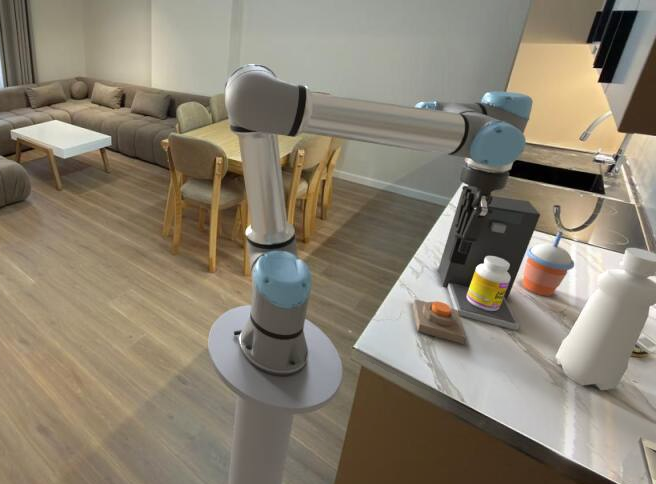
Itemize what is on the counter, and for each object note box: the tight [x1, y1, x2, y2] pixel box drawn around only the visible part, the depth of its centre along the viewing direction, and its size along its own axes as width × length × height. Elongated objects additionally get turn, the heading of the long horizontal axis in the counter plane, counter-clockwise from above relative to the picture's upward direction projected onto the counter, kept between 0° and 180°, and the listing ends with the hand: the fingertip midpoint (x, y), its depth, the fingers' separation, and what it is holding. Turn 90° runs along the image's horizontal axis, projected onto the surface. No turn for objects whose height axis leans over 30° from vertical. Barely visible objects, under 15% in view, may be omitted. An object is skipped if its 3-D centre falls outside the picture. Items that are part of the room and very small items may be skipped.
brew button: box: [431, 301, 452, 317], centre depth 95 cm, size 4×4×2 cm
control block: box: [412, 298, 467, 345], centre depth 96 cm, size 9×10×4 cm
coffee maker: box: [437, 191, 541, 331], centre depth 101 cm, size 14×20×26 cm
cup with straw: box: [521, 230, 575, 297], centre depth 105 cm, size 9×9×18 cm
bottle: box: [555, 247, 656, 391], centre depth 77 cm, size 9×9×30 cm
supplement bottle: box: [467, 256, 511, 311], centre depth 99 cm, size 7×7×13 cm
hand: (456, 261), depth 90 cm, fingers closed
